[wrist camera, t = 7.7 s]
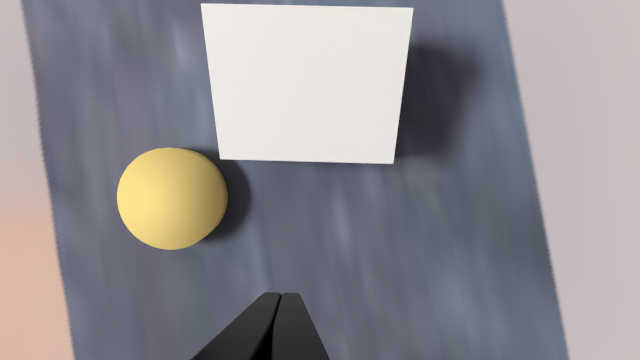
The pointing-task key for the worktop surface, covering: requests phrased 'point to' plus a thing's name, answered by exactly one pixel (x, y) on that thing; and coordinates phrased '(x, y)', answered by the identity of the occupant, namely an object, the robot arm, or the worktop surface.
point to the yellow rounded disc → (172, 197)
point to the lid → (307, 80)
